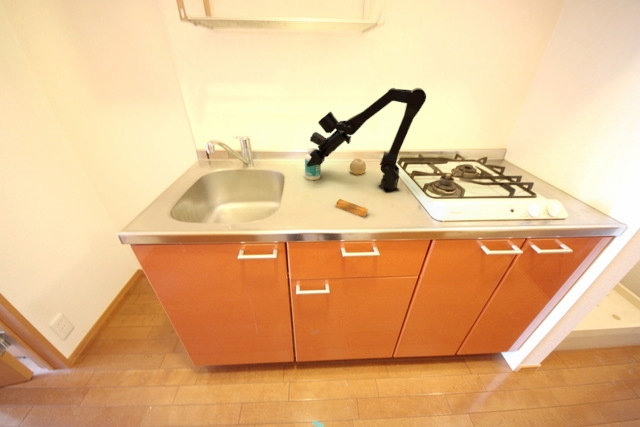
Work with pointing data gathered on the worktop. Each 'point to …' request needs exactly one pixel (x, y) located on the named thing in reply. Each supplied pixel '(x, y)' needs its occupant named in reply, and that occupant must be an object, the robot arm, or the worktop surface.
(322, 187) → the worktop surface
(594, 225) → the worktop surface
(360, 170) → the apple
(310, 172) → the pill bottle
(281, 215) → the worktop surface
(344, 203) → the fry stick
